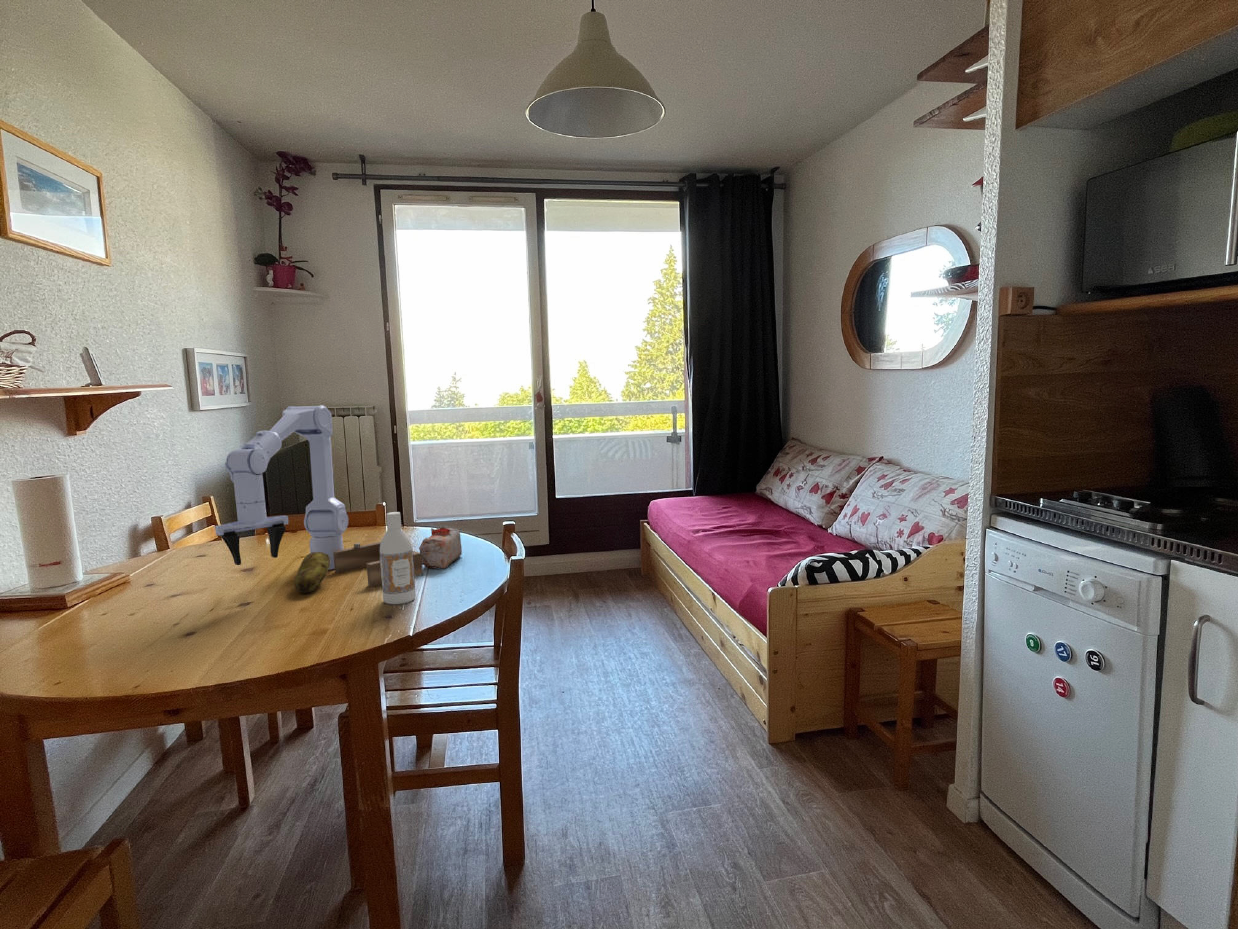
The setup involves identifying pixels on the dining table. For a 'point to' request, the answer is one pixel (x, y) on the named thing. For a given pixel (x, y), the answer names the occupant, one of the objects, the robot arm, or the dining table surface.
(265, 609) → the dining table surface
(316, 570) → the potato
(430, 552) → the food item
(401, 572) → the bath foam
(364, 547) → the cradle
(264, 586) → the dining table surface
